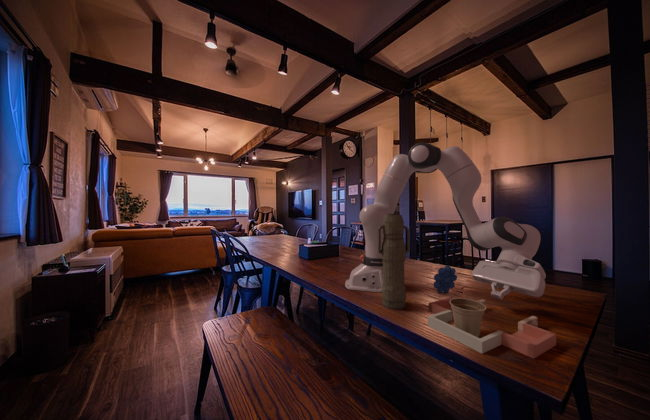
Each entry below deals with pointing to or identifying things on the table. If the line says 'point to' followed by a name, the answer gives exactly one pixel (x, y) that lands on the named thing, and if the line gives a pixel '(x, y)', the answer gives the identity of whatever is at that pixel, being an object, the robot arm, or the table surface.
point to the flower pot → (468, 315)
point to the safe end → (464, 333)
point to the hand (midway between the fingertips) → (496, 297)
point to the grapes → (445, 279)
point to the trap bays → (526, 343)
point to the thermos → (393, 260)
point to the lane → (530, 320)
